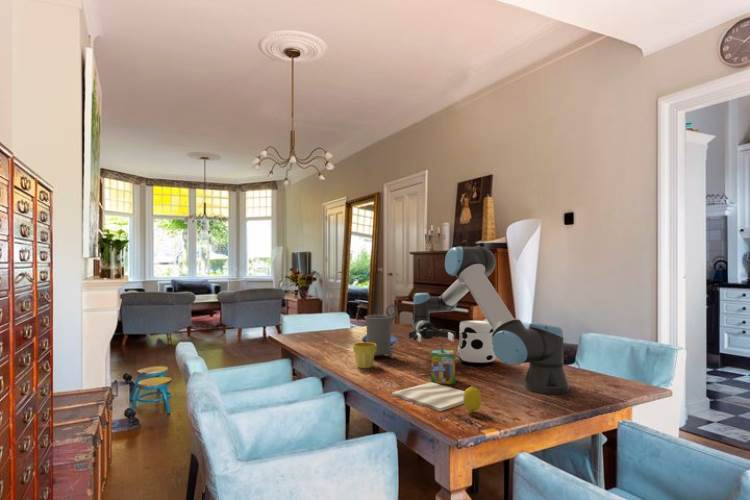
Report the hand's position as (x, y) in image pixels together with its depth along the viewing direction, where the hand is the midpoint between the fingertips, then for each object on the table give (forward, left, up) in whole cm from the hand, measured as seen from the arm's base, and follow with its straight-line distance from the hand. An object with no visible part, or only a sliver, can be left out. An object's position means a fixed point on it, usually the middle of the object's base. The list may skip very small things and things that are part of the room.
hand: (436, 338), depth 187 cm
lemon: (-37, +26, -15) cm, 48 cm away
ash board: (-19, +23, -15) cm, 33 cm away
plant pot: (+31, +13, -15) cm, 37 cm away
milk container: (+3, -30, -15) cm, 34 cm away
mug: (+41, -5, -15) cm, 44 cm away
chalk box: (-8, +6, -15) cm, 18 cm away
